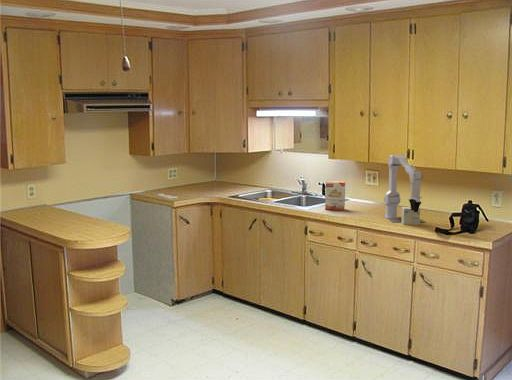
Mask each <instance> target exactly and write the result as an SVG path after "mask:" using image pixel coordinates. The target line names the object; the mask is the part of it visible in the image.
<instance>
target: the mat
mask: <svg viewBox="0 0 512 380" xmlns="http://www.w3.org/2000/svg"><path fill="white" fill-rule="evenodd" d="M389 221H390V222H392V223H402V218H401V219H400V218H399V219H389ZM420 223H426V221H425V220H423V219H420Z"/></svg>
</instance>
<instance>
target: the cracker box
mask: <svg viewBox="0 0 512 380" xmlns="http://www.w3.org/2000/svg"><path fill="white" fill-rule="evenodd" d="M324 202H325V204H324V205H325V206H324V209H325V210H332V211H333V210H334V211H345V205H346V204H345V202H346V181H339V180H338V181H336V180H327V181H326V182H325V201H324Z"/></svg>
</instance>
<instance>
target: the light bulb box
mask: <svg viewBox="0 0 512 380" xmlns="http://www.w3.org/2000/svg"><path fill="white" fill-rule="evenodd" d="M420 218H421V208H420V207H419V209H418V212H414V210H411V206H406V207H405V206H402V207H401V219H402V222H401V225H404V226H405V225H406V226H410V225H411V226H418V225H419V226H420V223H421V222H420Z"/></svg>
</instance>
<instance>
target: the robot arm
mask: <svg viewBox="0 0 512 380" xmlns="http://www.w3.org/2000/svg"><path fill="white" fill-rule="evenodd" d="M387 161H388V162H387V165H388V169H389V171H388V173H389V175H388V191H387V192H386V193H384V197H383V202H384V204H385V205H386V206H385V214H384V215H383V216H384V217H385V218H386V219H400V218H399V216H398V206H399V204H400V203H401V197H400V196H401V194H400V192H398V191H397V188H398V187H397V186H398V168H399V167H401V166H402V167H403V168H404V171H405V172H406V173H407V174H408V175H409V182H410V197H409V198H410V199H408V201H409V204H410V207H411V210H414V212H418V209H419V208H420V206H421V204H422V201H421V199H422V196H421V181H422V180H423V177H424V174H423V172H422V171H421V170H417V169H416V167H415V166H414V165H413V164H410V163H408V161H407V158H406V156H405V155H404V154H394V155H393V154H391V155H389V156H388V159H387Z"/></svg>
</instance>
